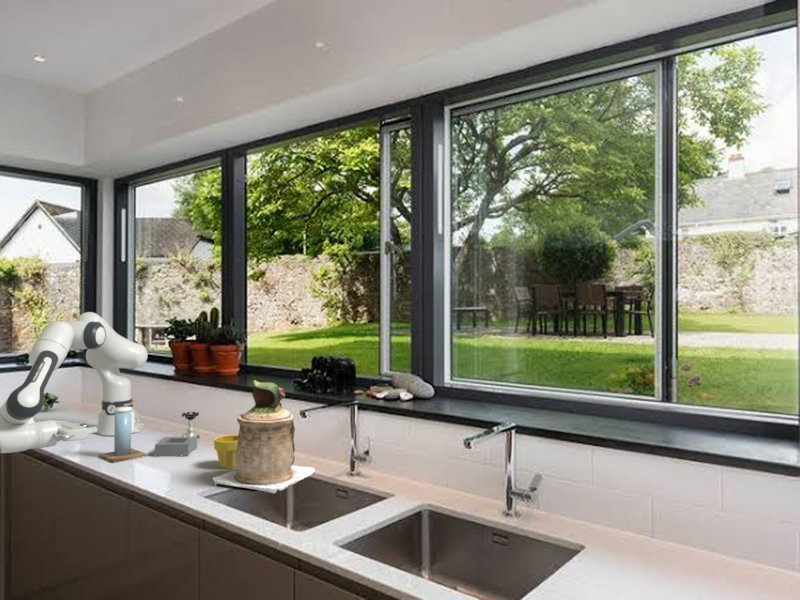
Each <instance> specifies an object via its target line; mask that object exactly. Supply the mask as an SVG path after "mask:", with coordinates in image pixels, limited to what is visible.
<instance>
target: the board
mask: <svg viewBox="0 0 800 600" xmlns="http://www.w3.org/2000/svg"><path fill="white" fill-rule="evenodd" d="M142 456H145V457H147V453H146V452H143V451H139V450H138V449H134V448H132V447H131V454H129V455H125V456H115V455H114V451H109V452H106V453H105V452H104V453H100V454H98V457H99V459H103V460H104V461H105V460H106V461H107V460H108V462H109V461H110V463H112V464H115V462H116V463H120V462H119V461H121V462H125V461H124V460H126V461H129V459H131V460H134V459H133V458H135V459H138V458H137V457H140V458H143V457H142Z"/></svg>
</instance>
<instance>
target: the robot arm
mask: <svg viewBox="0 0 800 600" xmlns="http://www.w3.org/2000/svg"><path fill="white" fill-rule="evenodd" d="M70 350H72V351H73V350H86V352H85V359H86V362H87V364H88V365H89V366H90V367H92V368H93V369H94V370H95V371H96V372H97V374H98V376H99V378H100V380H101V384H102V401H101V412H99V413H98V419H97V421H98V422H97V426H90V427H87V423H86V422H81V423H80V422H70V421H67V420H55V419H48V420H47V419H46V420H39V421H35V420H34V416H36V415H37V414H38V413H41V410H42V409H43V408H44V406H43V404H44V396H45V395H44V394H45V389H46V386H47V385H48V384H49V383H48V382H49V381H50V379H51V376H52V374H53V372H55V371H57V369H58V368H59V367H60V366H61V365H62V364H63V362H64V361H65V359H66V358H67V355H68V353H69V352H70ZM148 355H149V354H148V350H147V348H146V347H145V346H144V344H141V343H137V342H134V341H131V340H130V339H128V338H127V337H124V336H122V335H120V334H119V333H117V332H116V331H115V329H114V328H112V326H111V325H110V324H109V322H107V320H106V319H104V318H103V317H102V316H100V315H99V314H97V313H96V312H93V311H87V312H83V313H81V314H80V315H79V316H78V317H77V318H76V320H54V321H52V322H50V323H48V324H47V325H46V327H45V328H44V329H43V330H42V331H41V333H40V334H39V335H38V337H37V338H36V341H35V342H34V343H33V345H32V347H31V350H30V353H29V356H28V362H29V363H30V365H31V368H30V370H29V373H27V376H26V378H25V380H24V382H23V383H22V384H21V385H20V386H18V387H17V388H16V389H14V390H13V391H12V392H11V393H10V394H9V396H8V397H7V399H6V400H5V402H4V403H2V405H1V406H0V454H10V453H11V454H12V453H19V452H25V451H27V450H30V449H35V450H36V449H44V448H52V447H55V446H56V445H57V444H58V442H61V441H62V442H72V441H73V442H74V441H81V440H86V439H88V438H89V437H88V436H89V435H91V434H92V433H95V434H98V435H100V436H105V437H107V436H108V437H109V436H114V431H115V412H114V408H116V407H125V406H128V407H132V408H131V434H133V433H140V432H141V431H142V430H143V428H144V427H145V423H142V422H140V419H139V413H138V412H137V410H135V409H134V404H133V403H135V398H133V397H132V382H131V381H130V379H129V378H128V377H126V376H124V375H123V374H122V373H121V372H120V369H134V368H139V367H143V366H144V365H145V363H147V360H148Z"/></svg>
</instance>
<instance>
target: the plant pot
mask: <svg viewBox="0 0 800 600" xmlns="http://www.w3.org/2000/svg"><path fill="white" fill-rule="evenodd" d="M238 435H239V434H228V435H227V434H226V435H221V436H218V437H215V438H214V439H213V444H214V450H215V451H216V455H217V459H218V464H219V467H220V468H222V469H234V468H237V463H236V449H237V443H238Z"/></svg>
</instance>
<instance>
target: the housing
mask: <svg viewBox="0 0 800 600" xmlns="http://www.w3.org/2000/svg"><path fill="white" fill-rule="evenodd" d="M196 448H197V449H198V443H197V437H181V436H165V437H164V438H162V439H161V440H160V441H158V442H157V443H155V444H154V457H155V456H176V457H189V456H190V455H191V454H192V453H193V452H192V451H194V450H195V449H196ZM197 449H196V450H197ZM196 450H195V451H196ZM195 451H194V452H195ZM191 452H192V453H191ZM190 453H191V454H190ZM189 454H190V455H189ZM181 455H182V456H181ZM188 455H189V456H188Z"/></svg>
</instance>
